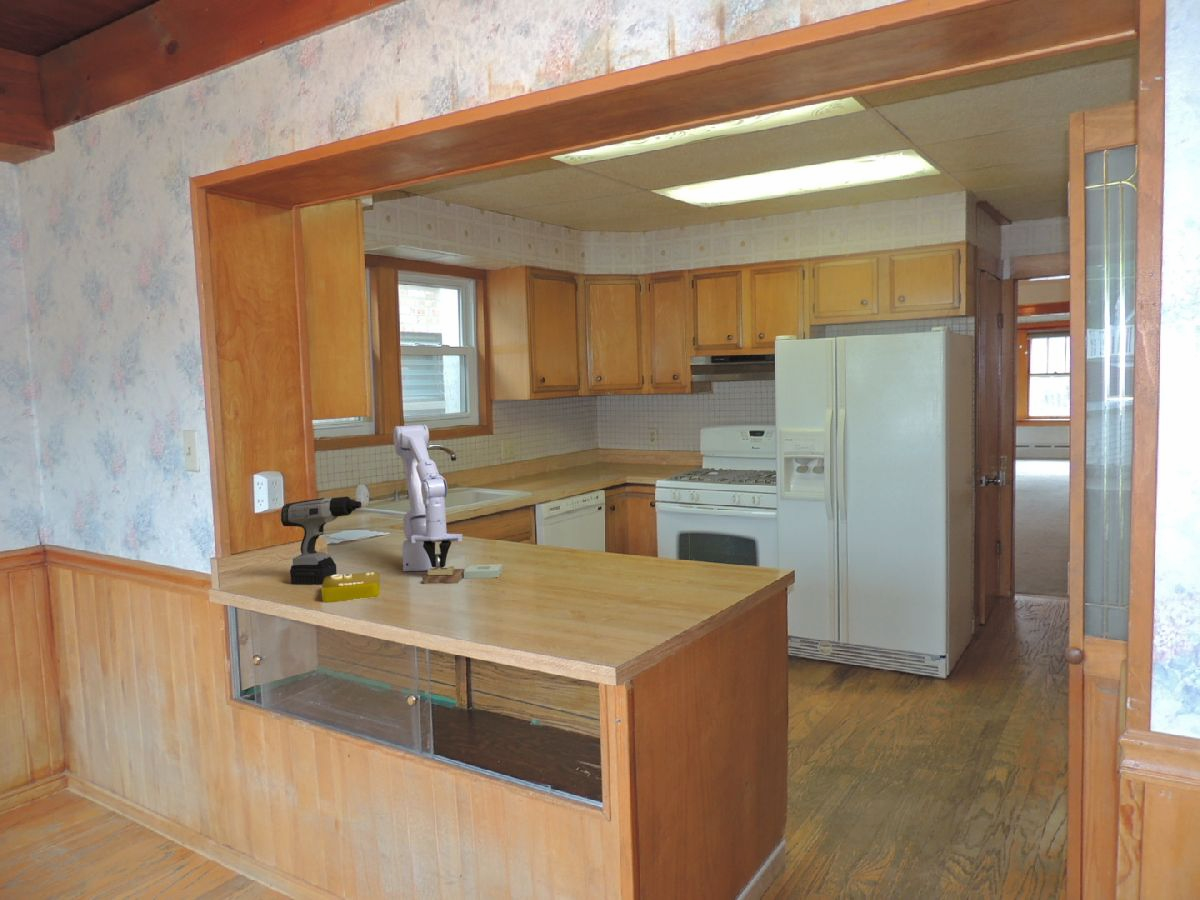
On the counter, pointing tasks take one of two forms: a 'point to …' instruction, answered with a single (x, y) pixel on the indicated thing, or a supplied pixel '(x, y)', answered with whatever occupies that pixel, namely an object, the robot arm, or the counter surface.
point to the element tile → (350, 586)
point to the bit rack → (483, 571)
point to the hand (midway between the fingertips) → (438, 566)
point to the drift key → (441, 571)
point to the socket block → (444, 577)
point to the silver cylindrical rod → (437, 560)
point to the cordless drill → (314, 535)
